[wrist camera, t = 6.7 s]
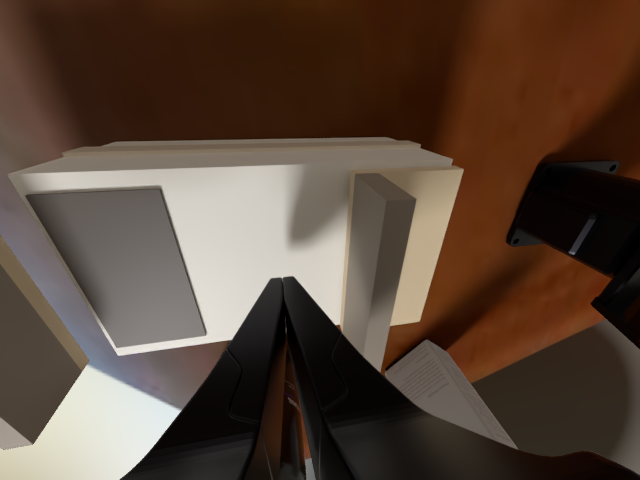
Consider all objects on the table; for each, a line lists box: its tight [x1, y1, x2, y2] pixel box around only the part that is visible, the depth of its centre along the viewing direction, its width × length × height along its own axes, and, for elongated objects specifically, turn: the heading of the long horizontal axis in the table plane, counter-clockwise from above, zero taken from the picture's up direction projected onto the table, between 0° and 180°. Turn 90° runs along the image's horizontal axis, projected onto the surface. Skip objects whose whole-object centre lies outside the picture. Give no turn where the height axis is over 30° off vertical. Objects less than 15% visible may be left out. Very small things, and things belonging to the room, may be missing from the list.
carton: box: [7, 137, 453, 356], centre depth 13 cm, size 14×8×6 cm, turn 89°
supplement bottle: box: [279, 352, 306, 480], centre depth 17 cm, size 7×7×12 cm
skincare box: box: [385, 340, 518, 449], centre depth 21 cm, size 6×4×12 cm
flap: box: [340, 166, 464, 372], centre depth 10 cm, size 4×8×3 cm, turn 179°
